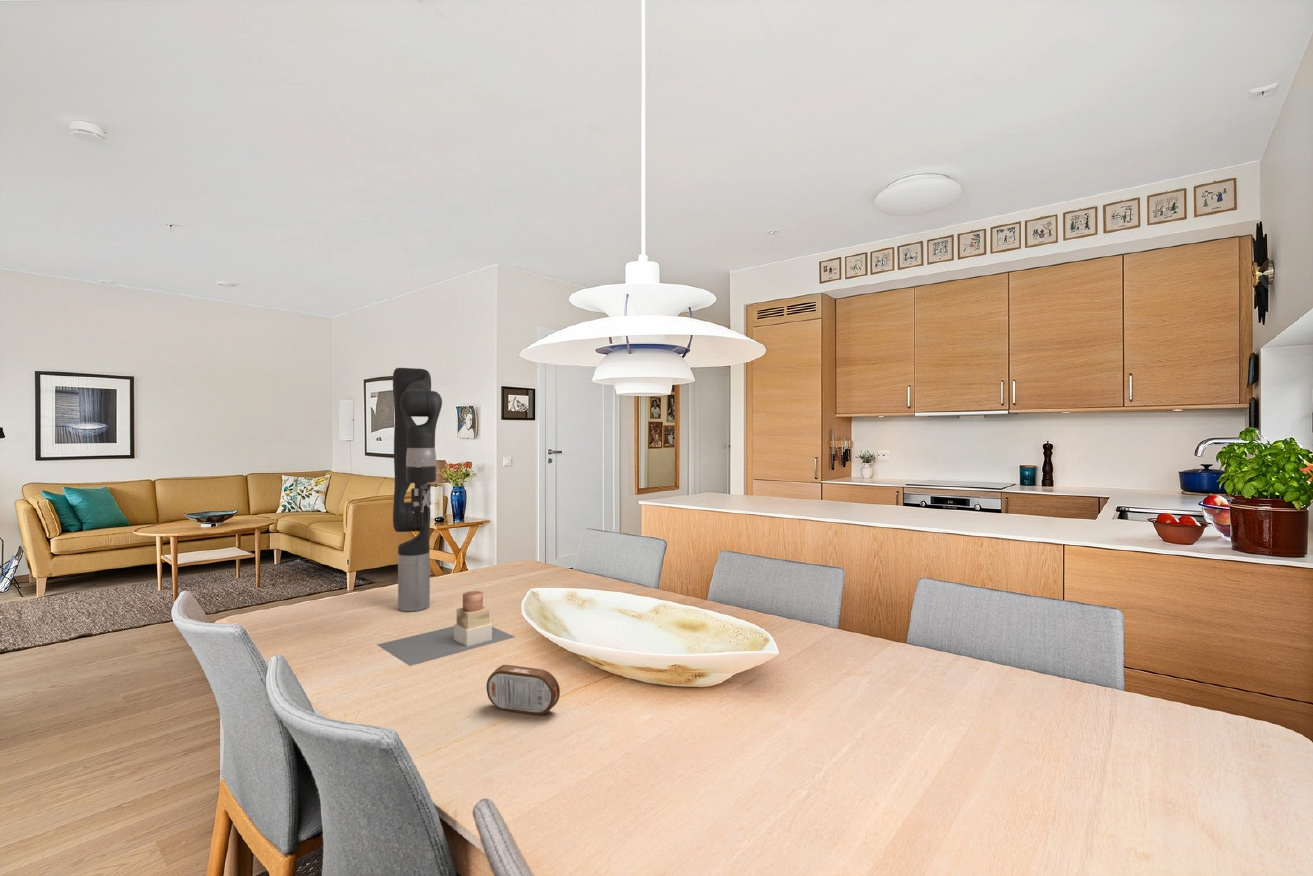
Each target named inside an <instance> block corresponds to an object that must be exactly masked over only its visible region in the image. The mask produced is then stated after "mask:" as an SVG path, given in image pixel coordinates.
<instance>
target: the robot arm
mask: <svg viewBox="0 0 1313 876" xmlns="http://www.w3.org/2000/svg"><path fill="white" fill-rule="evenodd" d="M392 394H393V395H392V396H393V412H394V426H393V427H394V431H393V435H394V436H393V465H394V466H393V467H394V468H393V469H394V488H393V504H392V505H393V509H392V523H393V524H392V525H393V529H394V531H395V532H397V533H406V532H407V533H409V532H418V534H417V535H416V536H415V537H413V538H412V539H410V540H406V541H404V542H402V543H400V544H398V546H397V547H398V548H397V581H398V582H397V595H398V596H397V601H398V603H397V609H398V611H401V612H417V611H423V610H426V609H428V608H429V607H430V606H431V604H430V603H431V600H430V598H431V597H430V596H431V595H430V594H431V590H430V588H431V583H430V582H431V581H430V580H431V576H430V575H431V570H430V569H431V568H430V567H431V566H430V564H431V563H430V562H431V561H430V557H431V556H430V553H431V552H430V534H431V533H430V531H431V504H432V501H431V487H432V486H431V483H436V481H437V455H436V452H437V451H436V429H437V424H438V423H437V422H438V419H439V416H440V414H441V410H442V406H443V399H442V396H441V395H440V393H439V392H437V391H435V390H432V377H431V374H430V372H429V371H428V370H426V369H425V368H417V367H416V368H413V367H412V368H411V367H396V368H395V369H394V370H393V374H392ZM414 417H416V418H417V417H418V418H423V417H424V418H426V417H427V420H426V421H425V423H422V424H418V425H417V424H416V422H415V421H414V419H413V418H414ZM411 484H414V486H413V487H414V488H411V489H410V492H411V493H410V495H411V497H410V499H411V500H410V501H407V502H406V501H405V497H406V494H407V492H408V489H409V487H410V486H411Z"/></svg>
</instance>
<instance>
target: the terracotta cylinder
mask: <svg viewBox="0 0 1313 876" xmlns="http://www.w3.org/2000/svg"><path fill="white" fill-rule="evenodd" d="M483 595H484V593H483V592H482V591H479V590H473V591H472V590H470V591H466V592H463V593H462V608H463V611H466V612H474V611H479V610H482V609H483V607H484V605H483V604H484V602H483V601H484V599H483V598H484V597H483Z"/></svg>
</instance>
